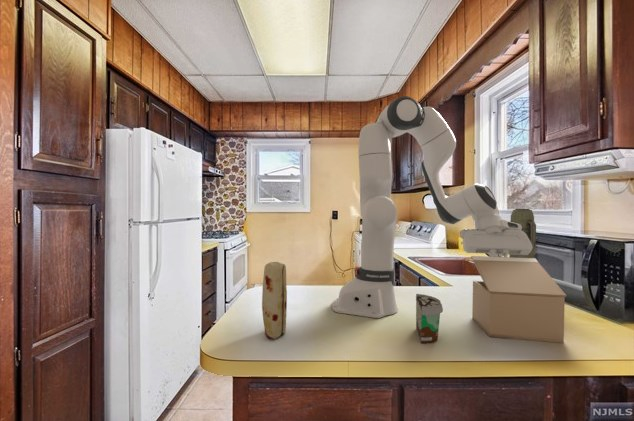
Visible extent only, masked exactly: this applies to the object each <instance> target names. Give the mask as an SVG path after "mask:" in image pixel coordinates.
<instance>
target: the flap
mask: <svg viewBox="0 0 634 421" xmlns="http://www.w3.org/2000/svg"><path fill="white" fill-rule="evenodd" d="M471 260H472V262H473V264H474V265H475V268H476V269H477V271H478V273H479V275H480V278H481V281H484V283H485V285H486V287H487V289H488V291H489V293H500V294H519V295H537V296H555V297H565V298H566V297H567V294H566V293H565V292H564V290H562V289H561V287H560V286H559V285H558V284H557V282H556V281H555V280H554V279H553V277H552V276H551V275H550V274H549V273H548V272H547V271H546V269H545V268H544V267H543V266H542V265H541V264H540V262H539V261H538V260H537V258H536V257H534V258H514V257H509V256H507V257H504V256H498V257H491V256H479V255H477V256H475V255H471Z"/></svg>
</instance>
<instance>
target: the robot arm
mask: <svg viewBox="0 0 634 421" xmlns="http://www.w3.org/2000/svg"><path fill="white" fill-rule="evenodd" d="M359 132H360V133H359V139H358V152H357V153H358V169H359V171H358V172H359V204H360V205H359V206H360V207H359V208H360V210H359V213H360V217H361V219H362V220H361V221H362V222H361V223H362V224H361V225H362V226H361V242H360V266H358V265H356V266H354V269H353V270H354V278H352V279H351V280H350V281H348V282H347V283H345V284H344V285H343V286H342V287H341V288H340V290H339V294H338V298H335V299H334V300H333V301H332V303H331V305H332V306H331V309H332V310H333V311H334V312H335V313H339V314H345V315H346V314H348V315H354V316H361V317H367V318H374V319H375V318H376V319H380V318H382V317H385V316H389V315H390V316H391V315H393V314H396V313H397V312H398V310H399V308H398V305H397V300H396V295H395V283H396V281H395V280H396V271H395V268H394V250H395V249H394V246H395V239H396V230H397V219H398V218H397V216H398V210H397V206H396V203H395V202H394V201H393V200H392V182H393V170H392V169H393V167H392V165H393V164H392V149H391V145H392V144H391V143H392V140H394V139H397V138H398V137H400V136H403V135H404V134H407V133H408V134H410V135H411V136H413V138H414V139H415V140H416V142H417V144H418V146H420V148H421V151H422V153H423V154H422V155H423V156H422V157H423V160H422V162H421V163H420V164H421V170H422V173H423V177H424V179H425V182H426V185H427V187H428V189H429V191H430V194H431V197H432V198H433V199H432V200H433V201H434V202H433V203H434V205H435V207H436V211H437V215H438V216H439V219H440V220H441V221H442V222H444V223H446V224H449V225H455V224H457V223H459V222H460V221H463V220H464V219H467V218H470V217H471V218H472V219H473V222H474V227H475V228H470V229H468V228H464V229H462V230H460V231H459V234H460V238H461V239H462V248H463V251H464V252H465V253H466V254H488V255H489V257H499V256H498V255H501V257H509V255H510V254H512V255H528V254H529V253H530V252H531V250H532V248H533V247H532V244H531V242H530V240H529V238H528V236H527V235H526V233H524V232H523V231H521V229H522V226H521V225H520V224H517V223H513V222H510V221H508V220H505V219H503V218H502V217H501V216H500V210H499V208H498V206H497V204H498V202H497V200H496V197H495V195H494V193H493V191H492V190H491V189H490V188H489V187H488V186H487V185H484V184H480V183H474V184H472V185H469V186H467V187H465V188H462V189H461V190H459V191H457V192H455V193H453V194H450V195H446V193H445V190H444V188H443V185H442V183H441V180H440V179H439V178H440V177H439V172H440V170H441V169H442V168H443V166H444V165H445V164H446V163H447V161H448V160H450V158H451V157H452V156H453V153H454V152H455V150H456V147H457V140H456V137H455V135H454V133H453V131H452V130H451V128H450V126H449V125H448V123H447V122H446V121H445V119H444V118H443V117H442V115H441V114H440V113H439V112H438V111H437V110H436V109H435V108H434V107H433V106H423V105H422V104H420V103H419V102H418V101H417V100H416V99H414V98H413V97H411V96H407V95H406V96H404V95H403V96H400V97H397V98H395V99H394V100H391V102H390V103H389V104H388V105H387V106H385V107H384V109H383V110H382V111H381V112H380V114H378V116H377V117H376V120H375V122H372V123H368V124H366V125H364V126H363V127H362V128H361V130H360V131H359Z"/></svg>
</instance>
